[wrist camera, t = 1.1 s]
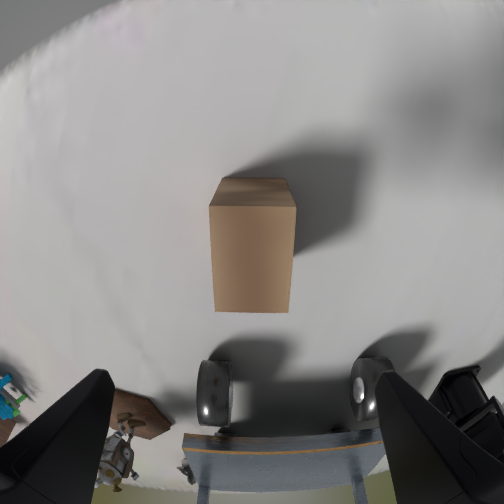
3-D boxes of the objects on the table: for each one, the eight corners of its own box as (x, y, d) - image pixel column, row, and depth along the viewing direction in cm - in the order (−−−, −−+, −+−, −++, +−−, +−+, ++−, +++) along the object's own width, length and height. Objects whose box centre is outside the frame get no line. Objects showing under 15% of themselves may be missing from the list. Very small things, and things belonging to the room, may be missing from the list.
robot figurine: (182, 434, 33) (168, 514, 22) (126, 434, 34) (107, 503, 24) (136, 384, 29) (106, 479, 18) (79, 387, 30) (45, 464, 19)
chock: (284, 178, 19) (296, 207, 14) (280, 261, 22) (288, 312, 16) (222, 177, 19) (209, 205, 14) (224, 260, 22) (214, 311, 16)
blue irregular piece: (-32, 355, 28) (-33, 395, 21) (-11, 337, 31) (-10, 375, 25) (9, 396, 34) (18, 436, 28) (29, 380, 37) (40, 419, 31)
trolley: (399, 341, 25) (446, 448, 14) (351, 440, 34) (366, 515, 23) (183, 345, 25) (153, 469, 14) (205, 444, 34) (196, 523, 23)
